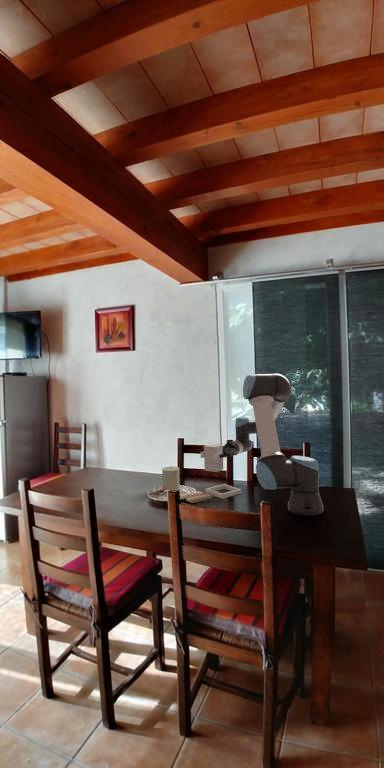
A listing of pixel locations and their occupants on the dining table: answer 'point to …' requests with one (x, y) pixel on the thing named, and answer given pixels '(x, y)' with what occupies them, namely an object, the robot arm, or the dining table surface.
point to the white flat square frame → (231, 492)
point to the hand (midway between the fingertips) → (208, 456)
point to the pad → (196, 496)
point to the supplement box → (209, 457)
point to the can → (170, 478)
